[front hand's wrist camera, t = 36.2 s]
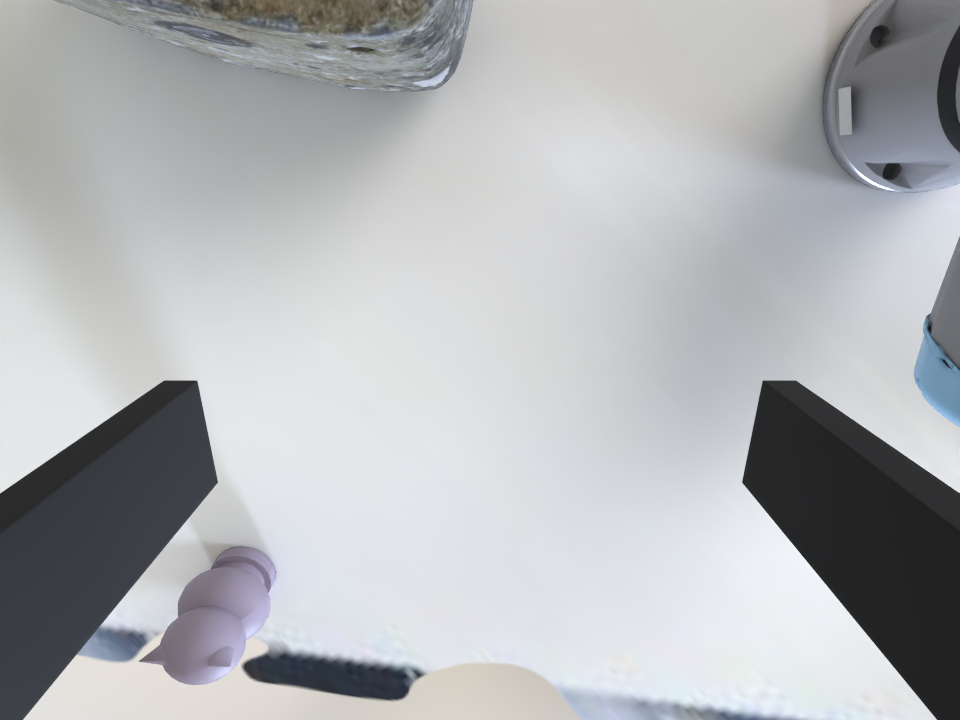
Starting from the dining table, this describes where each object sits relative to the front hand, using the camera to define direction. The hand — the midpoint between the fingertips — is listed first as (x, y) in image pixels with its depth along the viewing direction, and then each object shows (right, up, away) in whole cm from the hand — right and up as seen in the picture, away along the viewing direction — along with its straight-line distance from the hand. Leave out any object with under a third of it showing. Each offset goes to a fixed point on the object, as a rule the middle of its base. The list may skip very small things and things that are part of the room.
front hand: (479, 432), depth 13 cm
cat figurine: (-25, -21, +44) cm, 54 cm away
